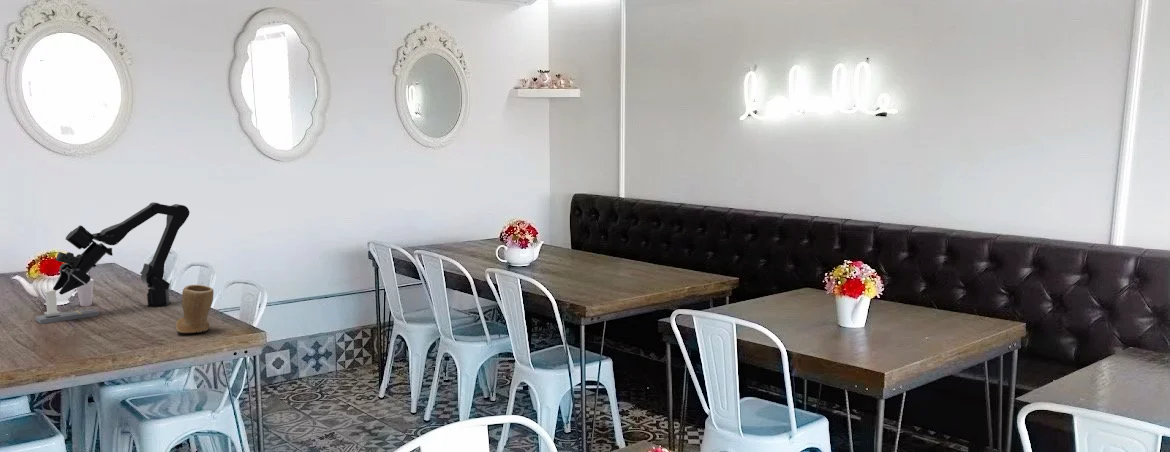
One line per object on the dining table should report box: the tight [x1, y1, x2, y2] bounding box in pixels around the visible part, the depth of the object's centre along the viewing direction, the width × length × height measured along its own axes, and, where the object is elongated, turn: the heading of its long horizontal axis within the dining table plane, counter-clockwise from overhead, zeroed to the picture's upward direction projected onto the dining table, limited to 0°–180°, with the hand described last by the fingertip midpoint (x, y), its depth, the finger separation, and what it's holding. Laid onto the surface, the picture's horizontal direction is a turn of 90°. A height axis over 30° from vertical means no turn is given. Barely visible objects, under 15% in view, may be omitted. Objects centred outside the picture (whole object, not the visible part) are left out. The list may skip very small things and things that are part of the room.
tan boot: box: [175, 284, 215, 334], centre depth 281 cm, size 15×12×15 cm
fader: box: [43, 289, 62, 317], centre depth 299 cm, size 4×5×9 cm
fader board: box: [34, 307, 100, 325], centre depth 303 cm, size 18×8×2 cm, turn 133°
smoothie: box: [76, 278, 95, 307], centre depth 324 cm, size 6×6×14 cm
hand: (56, 292), depth 300 cm, fingers open, 9 cm apart
